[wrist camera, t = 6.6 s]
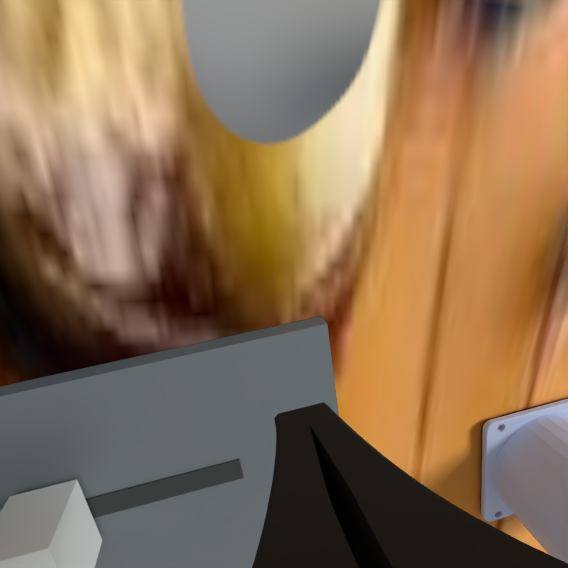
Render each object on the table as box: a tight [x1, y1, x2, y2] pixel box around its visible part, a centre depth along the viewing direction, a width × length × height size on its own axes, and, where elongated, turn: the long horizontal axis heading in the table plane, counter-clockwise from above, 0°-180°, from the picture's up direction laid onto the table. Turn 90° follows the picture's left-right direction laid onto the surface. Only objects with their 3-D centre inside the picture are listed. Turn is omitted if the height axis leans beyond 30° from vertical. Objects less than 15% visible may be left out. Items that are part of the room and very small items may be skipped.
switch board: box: [0, 316, 339, 568], centre depth 22 cm, size 20×24×1 cm
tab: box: [0, 479, 102, 568], centre depth 17 cm, size 3×4×4 cm
